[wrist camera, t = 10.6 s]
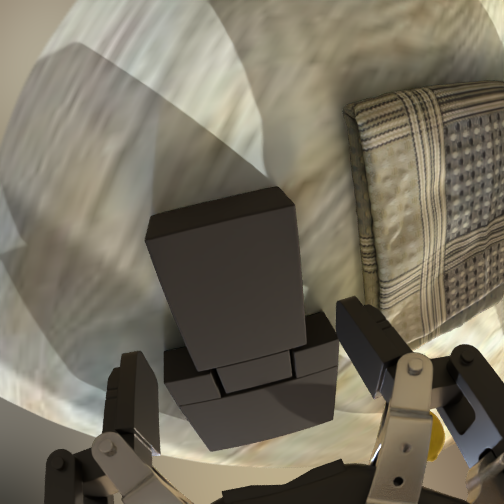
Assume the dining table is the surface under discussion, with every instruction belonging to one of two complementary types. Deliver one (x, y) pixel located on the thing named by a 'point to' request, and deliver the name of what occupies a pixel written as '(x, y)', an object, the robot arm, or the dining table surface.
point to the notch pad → (259, 393)
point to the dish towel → (430, 204)
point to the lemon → (436, 439)
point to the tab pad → (234, 283)
